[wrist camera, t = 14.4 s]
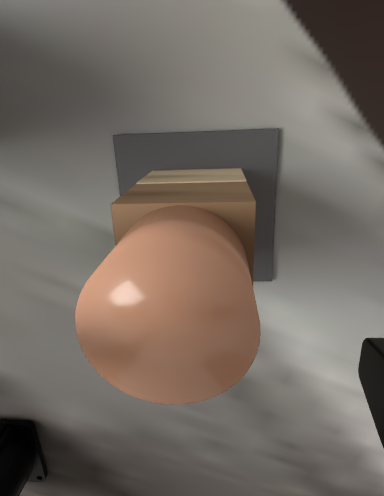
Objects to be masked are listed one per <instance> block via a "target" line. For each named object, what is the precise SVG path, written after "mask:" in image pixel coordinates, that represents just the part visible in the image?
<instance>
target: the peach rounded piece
mask: <svg viewBox="0 0 384 496" xmlns="http://www.w3.org/2000/svg"><path fill="white" fill-rule="evenodd" d="M75 323H76V332H77V336H78V340H79V343H80V345H81V348H82V350H83V352H84V354H85V356H86V357H87V359H88V361H89V362H90V363H91V365H92V366H93V367H94V369H95V370H96V371H97V372H98V373H99V374H100V375H101V376H102V377H103V378H104V379H106V380H107V381H108V382H109V383H111V384H112V385H114V386H115V387H117V388H118V389H120V390H121V391H123V392H125V393H127V394H129V395H132V396H134V397H137V398H139V399H143V400H146V401H150V402H155V403H160V404H172V405H173V404H189V403H195V402H199V401H204V400H207V399H209V398H212V397H215V396H217V395H219V394H221V393H223V392H224V391H226V390H227V389H229V388H230V387H232V386H233V385H234V384H235V383H237V382H238V381H239V380H240V379H241V378H242V377H243V376H244V374H245V373H246V372H247V371H248V369H249V368H250V366H251V364H252V363H253V361H254V358H255V356H256V354H257V350H258V347H259V342H260V321H259V316H258V311H257V306H256V301H255V296H254V291H253V286H252V281H251V276H250V271H249V266H248V261H247V256H246V252H245V249H244V246H243V244H242V242H241V240H240V238H239V237H238V235H237V234H236V232H235V231H234V230H233V229H232V228H231V227H230V225H229V224H227V223H226V222H225V221H224V220H223V219H221V218H220V217H218V216H217V215H215V214H213V213H211V212H209V211H207V210H204V209H201V208H197V207H192V206H182V205H177V206H168V207H163V208H160V209H157V210H154V211H152V212H150V213H148V214H146V215H144V216H143V217H142V218H140V219H139V220H138V221H137V222H136V223H135V224H133V225H132V227H131V228H130V229H129V230H128V231H127V233H126V234H125V235H124V236H123V238H122V239H121V240H120V241H119V242H118V244H117V245H116V246H115V247H114V249H113V250H112V251H111V252H110V253H109V255H108V256H107V257H106V258H105V260H104V261H103V262H102V263H101V264H100V266H99V267H98V268H97V269H96V271H95V272H94V273H93V274H92V276H91V277H90V278H89V279H88V281H87V282H86V284H85V286H84V287H83V289H82V291H81V293H80V296H79V299H78V302H77V307H76V317H75Z"/></svg>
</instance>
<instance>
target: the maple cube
mask: <svg viewBox="0 0 384 496" xmlns="http://www.w3.org/2000/svg"><path fill="white" fill-rule="evenodd" d="M202 182H246V178H245V176H244V174H243V172H242V169H241V168H227V169H195V170H163V171H151V172H150V173H149V174H147V175H146V176H145V177H144V178H142V179H141V180H140V181H138V182H137V183H136V184H155V183H202Z"/></svg>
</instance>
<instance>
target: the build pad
mask: <svg viewBox="0 0 384 496" xmlns="http://www.w3.org/2000/svg"><path fill="white" fill-rule="evenodd" d="M278 133H279V128H274V129H251V130H228V131H204V132H181V133H158V134H134V135H113V139H114V148H115V156H116V165H117V173H118V181H119V190H120V196H122V195H123V194H124V193H126V192H127V191H128V190H129V189H131V188H132V187H133V186H135V185H136V183H137V182H138V181H140V180H141V179H142V178H144V177H145V176H146V175H147V174H149V173H150V172H151V171H163V170H195V169H227V168H241V169H242V172H243V174H244V176H245V178H246V182H247V183H248V186H249V188H250V190H251V192H252V194H253V197H254V199H255V201H256V211H255V241H254V271H253V281H272V267H273V244H274V222H275V200H276V177H277V155H278Z"/></svg>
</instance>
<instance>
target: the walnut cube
mask: <svg viewBox="0 0 384 496" xmlns="http://www.w3.org/2000/svg"><path fill="white" fill-rule="evenodd" d="M177 205H182V206H192V207H197V208H201V209H204V210H207V211H209V212H211V213H213V214H215V215H217V216H218V217H220V218H221V219H223V220H224V221H225V222H226V223H227V224H229V225H230V227H231V228H232V229H233V230H234V231H235V232H236V234H237V235H238V237H239V238H240V240H241V242H242V244H243V246H244V249H245V252H246V256H247V261H248V266H249V271H250V276H251V281H252V286H253V271H254V241H255V211H256V201H255V199H254V197H253V194H252V192H251V190H250V188H249V186H248V183H247V182H202V183H155V184H136V185H135V186H133V187H132V188H131V189H129V190H128V191H127V192H126V193H124V194H123V195H122V196H120V197H119V198H118V199H117V200H115V201H114V202H113V203H111V212H112V220H113V228H114V236H115V245H117V244H118V242H119V241H120V240H121V239H122V238H123V236H124V235H125V234H126V233H127V231H128V230H129V229H130V228H131V227H132V225H133V224H135V223H136V222H137V221H138V220H139V219H140V218H142V217H143V216H144V215H146V214H148V213H150V212H152V211H154V210H157V209H160V208H163V207H168V206H177Z"/></svg>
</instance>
